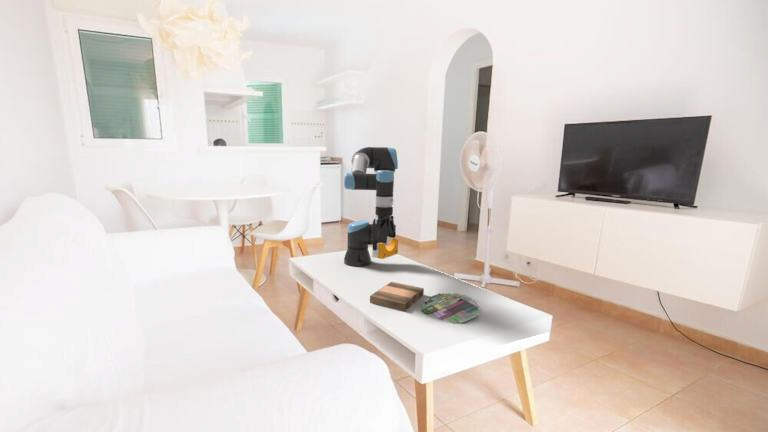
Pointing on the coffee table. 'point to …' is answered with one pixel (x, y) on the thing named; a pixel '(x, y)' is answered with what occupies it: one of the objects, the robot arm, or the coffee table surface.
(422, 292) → the board
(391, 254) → the pipe clamp
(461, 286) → the coffee table surface
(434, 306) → the city model
